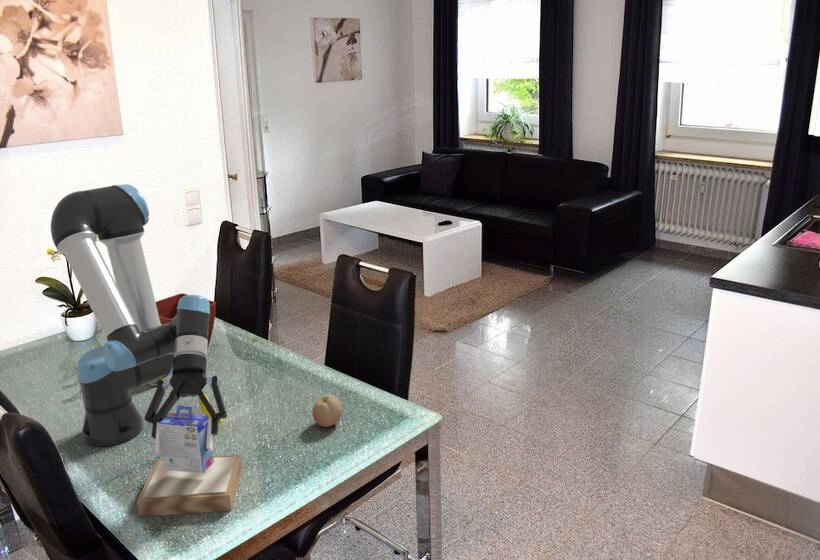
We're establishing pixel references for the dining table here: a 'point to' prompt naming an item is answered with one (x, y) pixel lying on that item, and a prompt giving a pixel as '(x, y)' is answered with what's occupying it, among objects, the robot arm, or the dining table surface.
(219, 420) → the banana
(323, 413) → the fruit
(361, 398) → the dining table surface
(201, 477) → the wooden box
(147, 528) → the dining table surface
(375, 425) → the dining table surface
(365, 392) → the dining table surface
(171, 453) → the ink cartridge box
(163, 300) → the plant pot
